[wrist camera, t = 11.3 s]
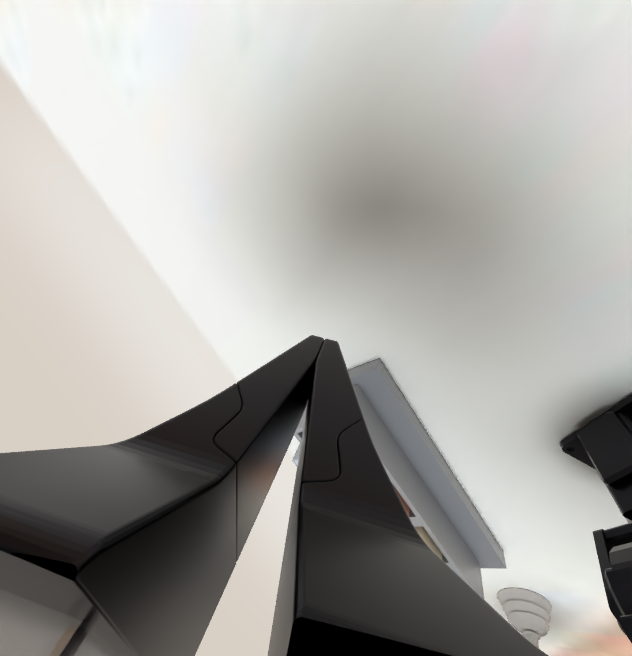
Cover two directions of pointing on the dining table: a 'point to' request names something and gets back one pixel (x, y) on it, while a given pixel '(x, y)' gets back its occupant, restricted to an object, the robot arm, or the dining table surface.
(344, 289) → the dining table surface
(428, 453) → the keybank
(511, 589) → the chalice
